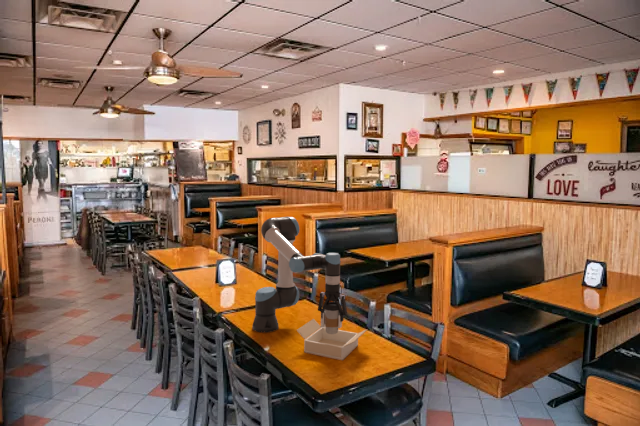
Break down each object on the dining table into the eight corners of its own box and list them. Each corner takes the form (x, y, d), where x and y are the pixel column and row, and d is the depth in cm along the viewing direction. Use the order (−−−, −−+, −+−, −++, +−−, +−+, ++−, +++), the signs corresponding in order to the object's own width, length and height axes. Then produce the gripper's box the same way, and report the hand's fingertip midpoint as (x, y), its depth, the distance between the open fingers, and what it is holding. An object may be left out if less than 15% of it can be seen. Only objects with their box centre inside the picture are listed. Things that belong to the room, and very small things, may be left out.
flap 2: (353, 341, 220) (354, 342, 220) (367, 328, 238) (367, 329, 238) (343, 346, 223) (344, 347, 223) (357, 333, 240) (358, 334, 240)
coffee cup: (323, 329, 240) (323, 301, 238) (338, 329, 240) (339, 301, 239) (324, 335, 231) (325, 306, 230) (341, 334, 232) (341, 306, 231)
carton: (303, 352, 232) (303, 340, 231) (322, 338, 251) (322, 326, 251) (342, 360, 222) (342, 348, 222) (358, 345, 242) (358, 333, 242)
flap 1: (313, 318, 251) (313, 319, 251) (296, 329, 234) (296, 330, 234) (321, 327, 250) (320, 327, 250) (305, 338, 232) (304, 339, 232)
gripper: (311, 282, 235) (310, 324, 237) (349, 287, 225) (348, 331, 228) (317, 279, 241) (317, 320, 243) (354, 283, 232) (353, 326, 234)
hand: (332, 325), depth 236 cm, fingers closed on coffee cup, 8 cm apart
